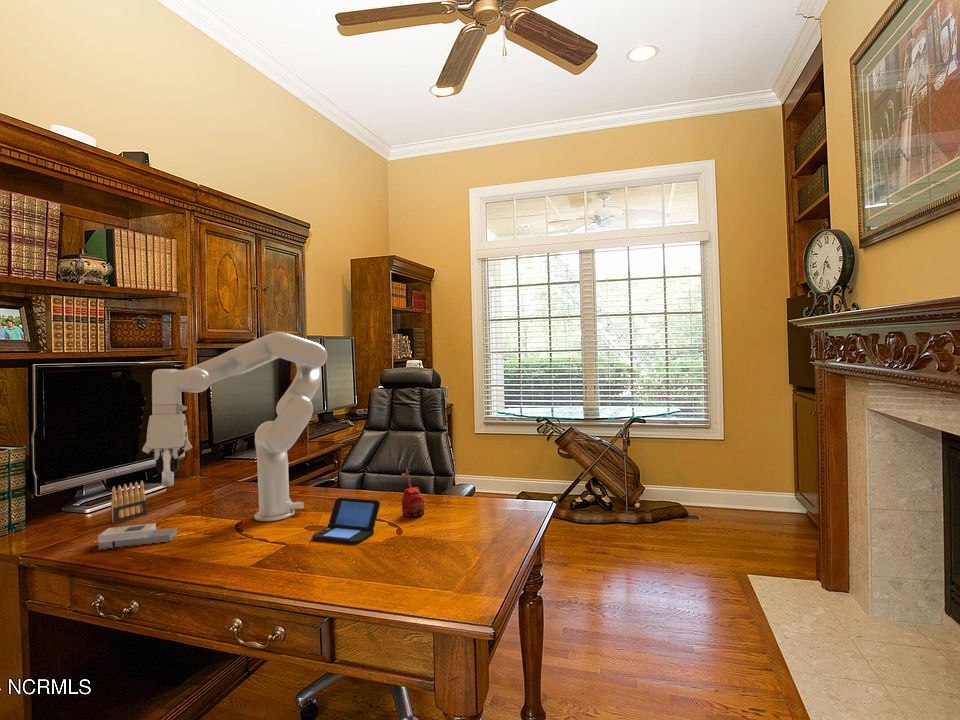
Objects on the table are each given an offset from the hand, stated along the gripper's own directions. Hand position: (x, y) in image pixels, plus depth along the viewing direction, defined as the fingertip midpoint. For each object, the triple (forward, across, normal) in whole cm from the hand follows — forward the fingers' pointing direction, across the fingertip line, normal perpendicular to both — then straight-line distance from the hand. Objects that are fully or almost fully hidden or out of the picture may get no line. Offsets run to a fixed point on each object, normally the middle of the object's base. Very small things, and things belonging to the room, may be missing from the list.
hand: (167, 471), depth 156 cm
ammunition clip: (+20, +19, -27) cm, 39 cm away
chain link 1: (+20, +10, +1) cm, 23 cm away
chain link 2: (+20, +5, +1) cm, 21 cm away
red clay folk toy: (+18, -73, +6) cm, 75 cm away
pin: (+4, 0, 0) cm, 4 cm away
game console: (+19, -51, +17) cm, 57 cm away
